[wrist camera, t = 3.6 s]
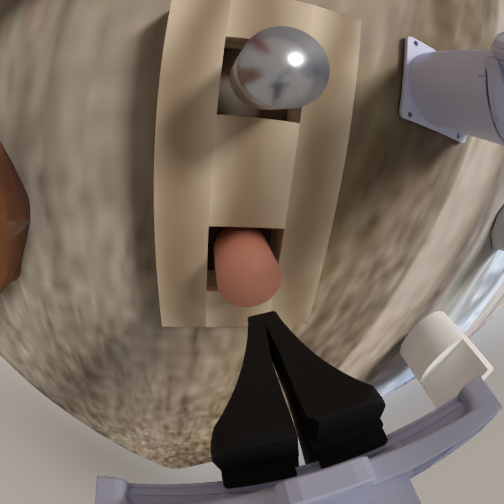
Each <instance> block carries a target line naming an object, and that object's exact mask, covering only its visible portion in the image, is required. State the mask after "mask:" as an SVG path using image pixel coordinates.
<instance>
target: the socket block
mask: <svg viewBox="0 0 504 504" xmlns="http://www.w3.org/2000/svg"><path fill="white" fill-rule="evenodd" d="M275 26H287V27H293V28H296V29H299V30H302V31H304V32H305V33H307V34H309V35H310V36H312V37H313V38H314V39H315V40H316V41H317V42H318V43H319V44H320V45H321V47H322V48H323V50H324V51H325V53H326V55H327V58H328V62H329V68H330V75H329V80H328V84H327V86H326V88H325V90H324V91H323V93H322V94H321V95H320V96H319V97H318V98H317V99H316V100H315V101H313V102H312V103H310V104H308V105H306V106H303V107H300V108H293V109H288V110H287V118H286V121H280V120H273V119H265V118H255V117H245V116H234V115H219V114H217V107H218V97H219V88H220V79H221V70H222V62H223V54H224V48H231V49H241V50H242V49H243V48H244V46H245V44H246V43H247V42H248V40H249V39H250V38H251V37H252V36H253V35H255V34H256V33H258V32H259V31H261V30H264V29H266V28H270V27H275ZM360 33H361V21H360V20H358V19H355V18H352V17H350V16H347V15H344V14H341V13H338V12H335V11H332V10H328V9H325V8H322V7H318V6H314V5H311V4H307V3H303V2H299V1H294V0H172V2H171V7H170V12H169V17H168V23H167V28H166V35H165V41H164V48H163V55H162V62H161V70H160V79H159V89H158V100H157V112H156V128H155V149H154V230H155V252H156V268H157V281H158V293H159V303H160V312H161V321H162V327H248V320H247V318H248V317H249V316H253V315H258V314H262V313H266V312H271V311H275V312H277V314H278V315H279V317H280V318H281V320H282V321H283V322H284V324H285V325H291V324H306V323H308V320H309V316H310V313H311V309H312V306H313V302H314V298H315V295H316V291H317V287H318V283H319V280H320V276H321V272H322V268H323V264H324V260H325V256H326V251H327V247H328V243H329V239H330V234H331V230H332V225H333V221H334V216H335V211H336V207H337V202H338V197H339V192H340V186H341V181H342V176H343V170H344V165H345V159H346V153H347V147H348V140H349V134H350V127H351V120H352V113H353V105H354V98H355V89H356V80H357V70H358V59H359V47H360ZM209 226H220V227H253V228H272V231H271V238H270V245H269V247H270V249H271V251H272V253H273V255H274V257H275V259H276V261H277V263H278V265H279V267H280V269H281V273H282V280H281V285H280V287H279V289H278V291H277V292H276V294H275V295H274V296H273V297H272V298H271V299H269V300H268V301H266V302H265V303H263V304H260V305H258V306H254V307H239V306H235V305H232V304H230V303H228V302H227V301H226V300H225V299H224V298H223V297H222V296H221V295H220V293H219V291H218V287H217V280H216V271H215V270H207V255H208V231H209Z"/></svg>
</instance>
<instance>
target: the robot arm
mask: <svg viewBox="0 0 504 504" xmlns="http://www.w3.org/2000/svg"><path fill="white" fill-rule="evenodd" d="M414 43H415V44H414ZM491 48H492V50H449V51H436V50H434V49H433V48H431V47H429V46H427V45H426V44H424V43H422V42H420V41H419V40H417V39H415V38H413V37H411V36H408V37H406V38H405V54H404V70H403V82H402V92H401V101H400V109H399V114H400V116H401V117H402V118H404V119H406V120H409V121H412V122H414V123H417V124H419V125H422V126H424V127H427V128H429V129H432V130H434V131H436V132H439V133H441V134H443V135H445V136H448V137H450V138H452V139H454V140H456V141H458V142H460V143H465V141H466V136H467V135H470V136H473V137H477V138H481V139H484V140H488V141H491V142H494V143H497V144H500V145H503V146H504V32H502V33H500V34H498V35H497V36H496V37H495V39H494V41H493V42H492V44H491ZM408 113H410V116H408ZM247 320H248V338H247V345H246V352H245V356H244V361H243V365H242V369H241V372H240V375H239V378H238V381H237V384H236V386H235V389H234V392H233V394H232V396H231V398H230V400H229V402H228V404H227V406H226V408H225V410H224V412H223V414H222V415H221V417H220V419H219V420H218V422H217V423H216V425H215V427H214V429H213V434H212V439H211V456H212V461H213V463H214V464H215V465H216V466H217V467H218V468H219V469H220V470H221V472H222V479H223V481H217V482H207V483H192V484H134V483H133V484H132V483H128V482H127V481H125V480H123V479H120V478H116V477H106V476H97V482H96V499H95V500H96V501H95V504H421V502H420V500H419V498H418V496H417V494H416V491H415V489H414V487H413V485H412V483H411V481H410V478H412V477H414V476H416V475H418V474H419V473H421V472H423V471H424V470H426V469H428V468H429V467H431V466H432V465H434V464H435V463H437V462H438V461H440V460H442V459H443V458H445V457H446V456H447V455H449V454H450V453H452V452H453V451H454V450H456V449H457V448H459V447H460V446H461V445H463V444H464V443H465V442H467V441H468V440H469V439H471V438H472V437H473V436H475V435H476V434H477V433H478V432H480V431H481V430H482V429H483V428H484V427H485V426H486V425H487V424H488V423H489V422H490V421H491V420H492V419H493V418H494V417H495V416H496V415H497V414H498V412H499V411H500V410H501V409H502V405H501V404H500V402H499V401H498V399H497V398H496V397H495V395H494V394H493V393H492V391H491V390H490V388H489V387H488V386H487V384H486V383H485V382H484V380H483V379H482V378H481V376H478V377H476V378H475V379H473V380H472V381H471V382H469V383H468V384H466V385H465V386H464V387H463V388H462V389H461V390H460V392H459V393H458V396H456V397H455V398H453V399H452V400H450V401H448V402H447V403H445V404H444V405H442V406H440V407H439V408H437V409H436V410H434V411H432V412H430V413H429V414H427V415H425V416H423V417H422V418H420V419H418V420H416V421H414V422H412V423H410V424H408V425H406V426H404V427H402V428H400V429H398V430H396V431H395V432H392V433H390V434H388V435H385V432H384V430H383V428H382V427H383V423H382V421H381V419H380V417H381V415H382V413H383V411H384V408H385V403H384V400H383V398H382V397H381V396H380V394H379V393H378V392H377V390H376V389H375V388H374V387H373V386H372V385H369V384H366V383H364V382H362V381H359V380H357V379H355V378H353V377H351V376H349V375H347V374H345V373H343V372H341V371H340V370H338V369H336V368H335V367H333V366H331V365H330V364H328V363H327V362H325V361H324V360H323V359H321V358H320V357H319V356H317V355H316V354H315V353H313V352H312V351H311V350H310V349H309V348H308V347H306V346H305V345H304V344H303V343H302V342H301V341H300V340H299V339H298V338H297V337H296V336H295V335H294V334H293V333H292V332H291V331H290V329H289V328H288V327H287V326H286V325H285V324H284V322H283V321H282V320H281V318H280V317H279V315H278V314H277V312H275V311H271V312H266V313H262V314H258V315H253V316H249V317H248V318H247ZM272 362H273V363H272ZM273 365H274V366H273ZM274 367H275V369H274ZM275 370H276V372H277V375H278V377H279V380H280V382H281V385H282V387H283V389H284V392H285V394H286V397H287V400H288V403H289V407H290V410H291V414H292V417H293V421H294V423H293V421H292V418H291V415H290V413H289V410H288V407H287V405H286V402H285V399H284V396H283V393H282V390H281V387H280V384H279V381H278V378H277V375H276V372H275ZM294 424H295V426H294ZM295 428H296V430H295ZM296 431H297V433H296ZM297 435H298V437H297ZM298 438H299V442H300V445H301V449H302V453H303V456H304V460H305V464H306V465H303V466H299V462H298V456H299V453H298Z"/></svg>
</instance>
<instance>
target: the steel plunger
mask: <svg viewBox="0 0 504 504" xmlns="http://www.w3.org/2000/svg"><path fill="white" fill-rule="evenodd" d="M329 75H330V68H329V62H328V58H327V55H326V53H325V51H324V50H323V48H322V47H321V45H320V44H319V43H318V42H317V41H316V40H315V39H314V38H313V37H312V36H310V35H309V34H307V33H305V32H304V31H302V30H299V29H296V28H293V27H287V26H275V27H270V28H266V29H264V30H261V31H259V32H258V33H256V34H255V35H253V36H252V37H251V38H250V39H249V40H248V42H247V43H246V44H245V46H244V48H243V49H242V51H241V52H240V54H239V55H238V57H237V59H236V60H235V62H234V64H233V66H232V68H231V72H230V83H231V87H232V89H233V91H234V93H235V95H236V96H237V97H238V98H239V99H240V100H241V101H242V102H243V103H244V104H246V105H248V106H250V107H252V108H255V109H259V110H275V109H293V108H300V107H303V106H306V105H308V104H310V103H312V102H313V101H315V100H316V99H317V98H318V97H319V96H320V95H321V94H322V93H323V91H324V90H325V88H326V86H327V84H328V80H329Z"/></svg>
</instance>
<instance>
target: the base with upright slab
mask: <svg viewBox="0 0 504 504" xmlns="http://www.w3.org/2000/svg"><path fill="white" fill-rule="evenodd" d="M400 354H401V356H402V357H403V359H404V360H405V362H406V363H407V365H408V366H409V367H410V369H411V370H412V372H413V373H414V375H415V376H416V378H417V379H418V381H419V382H420V384H421V385H422V387H423V388H424V390H425V391H426V393H427V394H428V396H429V397H430V399H431V400H432V402H433V403H434V405H435V407H436V408H439V407H440V406H442V405H444V404H445V403H447V402H448V401H450V400H452V399H453V398H455V397H456V396H458V393H459V392H460V390H461V389H462V388H463V387H464V386H465V385H466V384H468V383H469V382H471V381H472V380H473V379H475V378H476V377H478V376H481V378H482V379H483V380H485V379H486V377H487V376H488V375H489V374H490V373H491V372H492V371H493V367H492V366H491V365H490V364H489V362H488V361H487V360H486V359H485V358H484V356H483V355H482V354H481V353H480V352H479V350H478V349H477V348H476V347H475V346H474V345H473V343H472V342H471V341H470V340H469V339H468V338H467V337H466V336H465V334H464V333H463V332H462V331H461V330H460V329H459V328H458V327H457V326H456V325H455V323H454V322H453V321H452V320H451V319H450V318H449V317H448V316H447V315H446V314H445V313H444V312H441V311H438V312H434V313H432V314H430V315H428V316H427V317H425V318H424V319H422V320H421V321H420V322H419V323H418V324H416V325H415V326H414V327H413V329H412V330H411V331H410V332H409V333H408V335H407V336H406V337H405V339H404V341H403V343H402V345H401V348H400Z"/></svg>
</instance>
